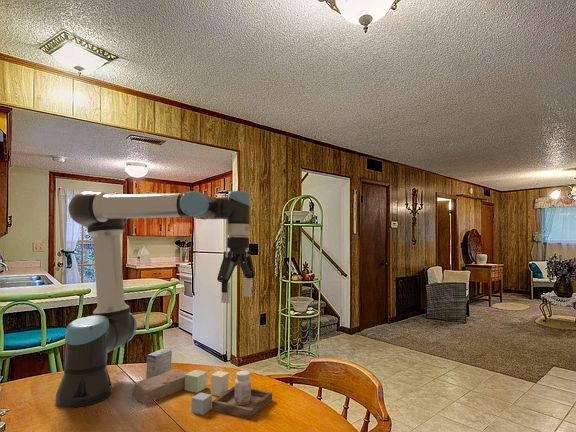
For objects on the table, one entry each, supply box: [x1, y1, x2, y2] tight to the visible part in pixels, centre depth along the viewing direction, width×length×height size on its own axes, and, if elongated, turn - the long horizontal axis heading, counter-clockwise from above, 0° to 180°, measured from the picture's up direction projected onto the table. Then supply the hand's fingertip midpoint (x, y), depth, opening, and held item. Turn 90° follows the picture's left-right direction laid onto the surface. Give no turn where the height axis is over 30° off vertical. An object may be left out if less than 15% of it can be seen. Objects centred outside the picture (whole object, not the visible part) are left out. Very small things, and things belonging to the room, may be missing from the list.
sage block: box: [184, 369, 208, 394], centre depth 119 cm, size 5×5×5 cm
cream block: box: [210, 370, 230, 397], centre depth 115 cm, size 4×4×6 cm
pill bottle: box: [234, 370, 252, 405], centre depth 108 cm, size 5×5×8 cm
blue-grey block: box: [190, 391, 213, 415], centre depth 104 cm, size 4×4×4 cm
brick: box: [131, 368, 188, 404], centre depth 116 cm, size 17×8×5 cm, turn 143°
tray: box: [211, 385, 273, 420], centre depth 107 cm, size 13×13×2 cm
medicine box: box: [145, 348, 173, 379], centre depth 128 cm, size 8×4×9 cm, turn 158°
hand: (236, 299), depth 122 cm, fingers open, 13 cm apart
